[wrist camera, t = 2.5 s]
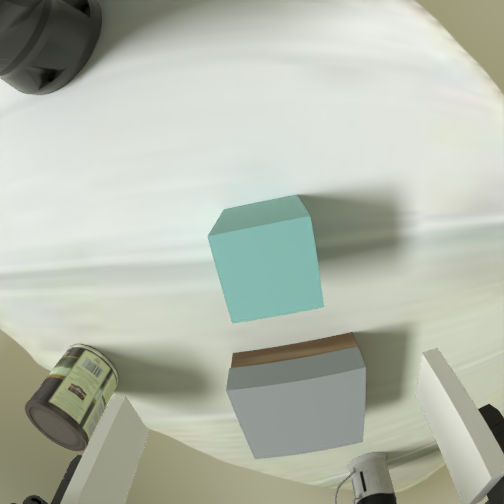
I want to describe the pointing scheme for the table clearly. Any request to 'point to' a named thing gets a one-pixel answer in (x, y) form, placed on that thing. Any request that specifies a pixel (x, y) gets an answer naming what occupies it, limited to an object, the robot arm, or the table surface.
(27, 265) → the table surface
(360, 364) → the grey slab
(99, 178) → the table surface
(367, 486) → the grey black mug
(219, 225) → the teal block
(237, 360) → the walnut slab
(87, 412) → the coffee can
